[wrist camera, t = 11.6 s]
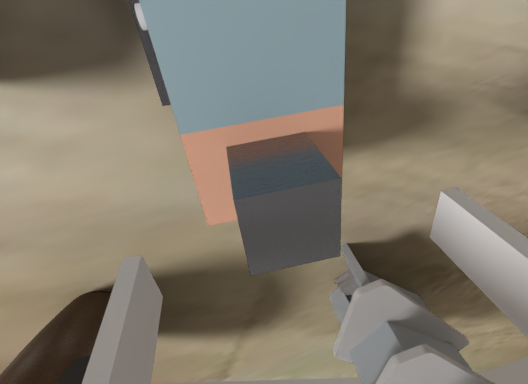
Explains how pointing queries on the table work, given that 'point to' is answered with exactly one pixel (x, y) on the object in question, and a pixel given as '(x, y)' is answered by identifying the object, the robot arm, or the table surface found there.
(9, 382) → the plant pot
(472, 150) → the table surface
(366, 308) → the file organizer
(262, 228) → the block
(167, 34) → the balance beam
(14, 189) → the table surface
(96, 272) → the table surface
